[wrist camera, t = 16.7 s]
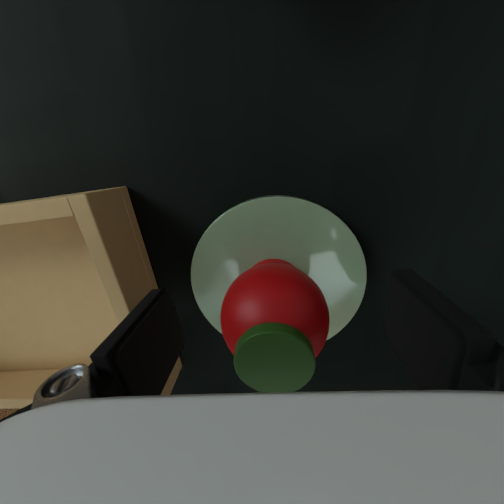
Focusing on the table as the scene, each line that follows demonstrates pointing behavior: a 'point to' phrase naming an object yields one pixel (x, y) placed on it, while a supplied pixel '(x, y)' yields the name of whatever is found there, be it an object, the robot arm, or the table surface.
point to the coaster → (280, 253)
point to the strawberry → (274, 326)
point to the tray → (66, 284)
